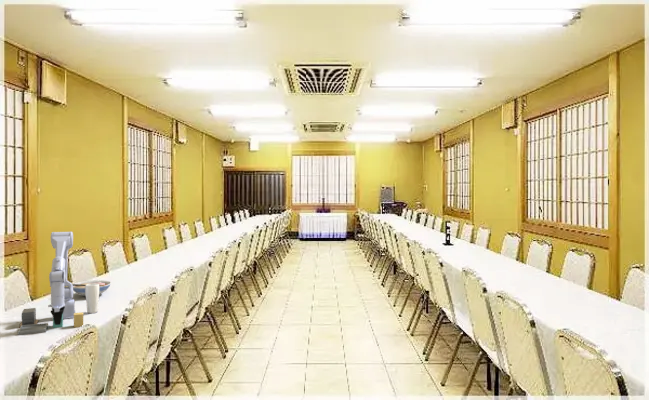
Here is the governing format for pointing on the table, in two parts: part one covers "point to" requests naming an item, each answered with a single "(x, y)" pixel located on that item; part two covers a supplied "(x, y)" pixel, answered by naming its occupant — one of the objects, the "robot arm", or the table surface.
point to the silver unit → (29, 317)
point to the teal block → (60, 323)
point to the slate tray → (33, 328)
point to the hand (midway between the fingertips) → (58, 323)
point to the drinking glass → (92, 297)
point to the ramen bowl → (80, 286)
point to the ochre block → (78, 319)
